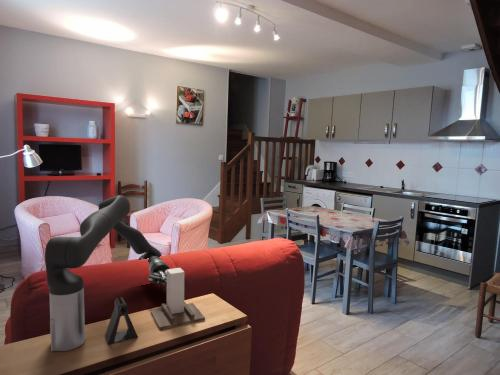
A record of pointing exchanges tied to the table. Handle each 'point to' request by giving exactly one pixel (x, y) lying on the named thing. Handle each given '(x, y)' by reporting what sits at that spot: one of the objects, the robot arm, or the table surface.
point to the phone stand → (111, 331)
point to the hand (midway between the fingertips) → (170, 284)
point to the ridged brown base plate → (176, 316)
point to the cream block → (175, 290)
